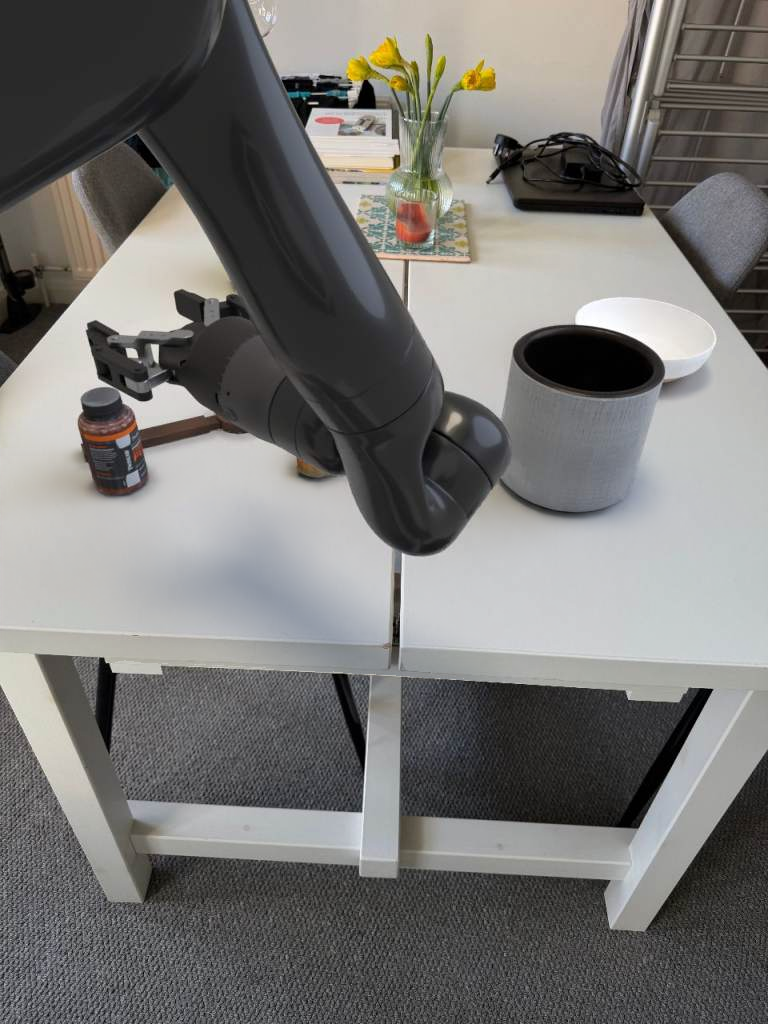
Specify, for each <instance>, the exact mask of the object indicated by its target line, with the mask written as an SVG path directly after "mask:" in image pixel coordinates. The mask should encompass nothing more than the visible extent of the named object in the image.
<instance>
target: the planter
mask: <svg viewBox="0 0 768 1024" xmlns="http://www.w3.org/2000/svg"><path fill="white" fill-rule="evenodd" d="M664 377H665V366H664V363H663V361H662V360H661V358H660V357H659V356H658V354H657V353H656V352H655V351H654V350H652V349H651V348H650V347H648V346H647V345H646V344H644V343H642V342H641V341H639V340H637V339H635V338H633V337H630V336H628V335H626V334H623V333H620V332H617V331H613V330H610V329H606V328H601V327H595V326H587V325H574V324H556V325H555V324H554V325H548V326H544V327H540V328H537V329H533V330H531V331H529V332H527V333H525V334H523V335H522V336H521V337H520V338H518V340H517V341H516V342H515V343H514V345H513V348H512V352H511V358H510V365H509V371H508V377H507V382H506V383H507V384H506V390H505V395H504V401H503V408H502V413H501V418H500V420H501V421H502V423H503V425H504V426H505V428H506V429H507V431H508V433H509V436H510V438H511V442H512V458H511V461H510V463H509V465H508V467H507V469H506V471H505V473H504V474H503V475H502V477H501V478H500V480H502V482H503V483H504V484H505V485H506V486H507V487H508V488H509V489H510V490H511V491H512V492H514V493H515V494H516V495H518V496H519V497H521V498H523V499H525V500H527V501H528V502H529V503H532V504H535V505H537V506H540V507H543V508H546V509H550V510H554V511H560V512H569V513H586V512H593V511H594V512H595V511H598V510H602V509H605V508H608V507H611V506H613V505H615V504H617V503H619V502H620V501H621V500H623V499H624V498H625V497H626V496H627V494H628V493H629V492H630V490H631V488H632V485H634V481H635V478H636V475H637V471H638V468H639V464H640V462H641V457H642V454H643V452H644V451H643V450H644V447H645V443H646V440H647V437H648V434H649V431H650V430H649V429H650V427H651V423H652V419H653V416H654V413H655V409H656V407H657V403H658V400H659V396H660V393H661V391H662V387H663V383H664V382H663V380H664Z"/></svg>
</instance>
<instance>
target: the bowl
mask: <svg viewBox="0 0 768 1024" xmlns="http://www.w3.org/2000/svg"><path fill="white" fill-rule="evenodd" d="M573 325H587V326H595V327H601V328H606V329H610V330H613V331H617V332H620V333H623V334H626V335H628V336H630V337H633V338H635V339H637V340H639V341H641V342H642V343H644V344H646V345H647V346H648V347H650V348H651V349H652V350H654V351H655V352H656V353H657V354H658V356H659V357H660V358H661V360H662V361H663V363H664V366H665V377H664V380H663V383H670V382H673V381H676V380H679V379H682V378H683V377H687V376H689V375H691V374H693V373H695V372H697V371H698V370H699V369H700V368H701V367H702V366H703V365H704V364H705V362H707V360H709V358H710V356H711V354H712V353H713V350H714V348H715V346H716V344H717V335H716V334H717V333H716V332H715V329H714V328H713V327H712V325H711V324H710V323H709V322H707V321H706V320H705V319H704V318H702V317H701V316H699V315H698V314H696V313H694V312H692V311H690V310H688V309H685V308H683V307H680V306H678V305H675V304H673V303H668V302H664V301H662V300H661V301H660V300H655V299H651V298H645V297H644V298H643V297H632V296H631V297H629V296H627V297H626V296H618V297H617V296H616V297H606V298H602V299H597V300H594V301H591V302H588V303H586V304H584V305H583V306H581V307H580V308H579V309H578V310H577V311H576V313H575V315H574V318H573Z"/></svg>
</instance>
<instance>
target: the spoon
mask: <svg viewBox="0 0 768 1024" xmlns="http://www.w3.org/2000/svg"><path fill="white" fill-rule="evenodd" d="M214 413H215V412H214ZM220 429H221V430H223V431H225V432H229V433H232V434H247V433H248V432H247V431H245V430H243V429H242V428H240V427H238V426H237V425H235V424H233V423H231V422H230V421H228V420H226V419H225V418H223V417H221V416H220V415H218V414H216V413H215V414H213V415H209V416H205V415H204V414H201V415H198V416H192V417H189V418H184V419H180V420H176V421H171V422H167V423H162V424H159V425H154V426H150V427H146V428H142V429H138V430H139V435H140V439H141V444H142V448H143V449H146V448H151V447H155V446H159V445H164V444H167V443H171V442H175V441H179V440H184V439H187V438H193V437H195V436H200V435H204V434H205V435H206V434H208V433H211V431H215V430H220ZM80 448H81V450H82V453H83V457H84V460H85V462H86V463H88V460H87V456H86V453H85V449H84V446H83V443H82V442H81V443H80Z"/></svg>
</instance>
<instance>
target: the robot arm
mask: <svg viewBox="0 0 768 1024" xmlns="http://www.w3.org/2000/svg"><path fill="white" fill-rule="evenodd" d="M253 13H254V12H253V11H252V7H251V5H250V2H249V0H0V216H1V215H2V214H3V215H4V213H6V212H7V211H9V210H11V209H12V208H14V207H16V206H18V205H19V204H21V203H23V202H24V201H26V200H27V199H29V198H31V197H32V196H34V195H36V194H37V193H39V192H41V191H42V190H44V189H45V188H47V187H49V186H51V185H53V184H54V183H56V182H58V181H59V180H61V179H63V178H64V177H66V176H68V175H69V174H71V173H72V172H75V171H76V170H78V169H79V168H81V167H83V166H85V165H87V164H89V163H90V162H92V161H93V160H95V159H96V158H99V157H100V156H102V155H104V154H105V153H107V152H109V151H110V150H112V149H113V148H115V147H117V146H118V145H120V144H123V142H125V141H126V140H128V139H130V138H132V137H133V136H135V135H136V134H137V136H138V137H139V139H141V141H142V143H144V145H145V146H146V147H147V149H148V150H149V151H150V153H151V154H152V155H153V156H154V158H155V159H156V161H157V162H158V164H159V165H160V166H161V167H162V169H163V170H164V171H165V173H166V175H167V176H168V178H169V179H170V180H171V181H172V184H173V185H174V186H175V187H176V189H177V191H178V192H179V194H180V195H181V197H182V198H183V200H184V202H185V203H186V205H187V206H188V208H189V209H190V211H191V212H192V214H193V215H194V217H195V219H196V220H197V223H198V224H199V226H200V228H201V229H202V231H203V232H204V234H205V236H206V238H207V239H208V242H209V243H210V246H211V247H212V249H213V250H214V252H215V254H216V256H217V258H218V259H219V261H220V263H221V265H222V267H223V269H224V271H225V273H226V275H227V276H228V278H229V280H230V282H231V285H232V286H233V288H234V290H235V292H236V293H230V294H227V295H226V296H225V300H223V301H220V299H218V298H216V297H209V298H206V297H203V296H201V295H199V294H197V293H195V292H190V291H188V290H185V289H183V288H180V289H178V290H175V291H174V292H173V298H174V303H175V304H174V305H175V310H176V312H177V313H178V315H180V316H181V317H183V318H185V319H188V320H190V321H192V322H189V323H187V324H185V325H184V326H182V327H181V328H177V329H172V330H170V331H158V330H141V331H140V332H139V333H138V334H137V335H126V334H120V332H119V331H116V330H114V329H113V328H111V327H109V326H108V325H106V324H104V323H103V322H100V321H99V320H97V319H95V320H92V321H89V322H86V328H87V329H85V332H86V338H87V341H88V345H89V348H90V353H91V356H92V358H93V362H94V366H95V369H96V376H97V379H98V380H99V381H101V382H103V383H104V384H106V385H109V387H111V388H114V389H117V390H118V391H119V392H120V393H123V394H125V395H127V396H129V397H131V398H132V399H134V400H136V401H137V402H141V403H143V402H144V403H145V402H150V401H151V400H152V399H153V398H154V394H153V389H154V388H156V387H158V386H160V385H162V384H165V383H167V384H169V385H173V386H180V387H183V388H185V390H186V391H187V392H188V393H189V394H190V395H191V396H192V398H193V399H194V400H195V401H196V402H197V403H198V404H200V405H201V406H203V407H204V408H205V409H207V410H209V411H211V412H212V413H216V414H218V415H220V416H221V417H223V418H225V419H226V420H228V421H230V422H231V423H233V424H235V425H237V426H238V427H240V428H242V429H243V430H245V431H247V433H248V434H250V435H252V436H254V437H255V438H257V439H259V440H261V441H264V442H266V443H268V444H271V445H274V446H276V447H278V448H280V449H282V450H284V451H286V452H287V453H289V454H291V456H294V457H296V459H297V458H299V459H301V460H303V461H304V462H306V463H308V464H310V465H311V466H313V467H315V468H316V469H318V470H320V471H322V472H324V473H326V474H329V476H333V477H346V479H347V482H348V486H349V489H350V492H351V494H352V498H353V499H354V502H355V504H356V507H357V509H358V511H359V513H360V514H361V516H362V517H363V519H364V521H365V523H366V524H367V526H368V527H369V528H370V530H371V531H372V532H373V533H374V534H375V535H376V536H377V538H379V539H380V541H382V542H383V543H384V544H385V545H387V546H388V547H390V548H391V549H393V550H394V551H397V552H399V553H401V554H404V555H406V556H410V557H421V558H422V557H423V558H425V557H431V556H435V555H438V554H440V553H443V552H444V551H446V550H447V549H448V548H449V547H450V546H451V545H453V543H455V542H456V540H457V539H458V537H459V536H460V535H461V534H462V532H463V531H464V529H466V526H467V525H468V523H469V522H470V521H471V519H472V518H473V517H474V515H475V514H476V513H477V511H478V510H479V509H480V507H481V506H482V504H483V503H484V502H485V500H486V499H487V498H488V497H489V495H490V494H491V491H492V490H493V489H494V488H495V487H496V485H497V484H498V483H499V481H500V480H501V477H502V475H503V474H504V473H505V471H506V469H507V467H508V465H509V463H510V461H511V458H512V442H511V438H510V436H509V433H508V431H507V429H506V428H505V426H504V425H503V423H502V421H501V418H499V417H498V416H497V414H495V413H494V412H493V411H492V410H491V409H490V408H489V407H487V406H485V405H483V404H482V403H481V402H479V401H477V400H475V399H473V398H470V397H468V396H466V395H463V394H461V393H457V392H453V391H449V390H445V381H444V378H443V374H442V372H441V369H440V366H439V365H438V363H437V360H436V359H435V357H434V355H433V353H432V352H431V350H430V348H429V346H428V344H427V343H426V340H425V339H424V337H423V335H422V333H421V331H420V329H419V328H418V326H417V324H416V322H415V320H414V318H413V317H412V315H411V313H410V311H409V309H408V307H407V306H406V304H405V302H404V301H403V298H402V297H401V295H400V292H398V289H397V288H396V287H395V285H394V283H393V282H392V279H391V278H390V276H389V275H388V273H387V271H386V268H384V265H383V264H382V262H381V261H380V259H379V257H378V255H377V254H376V252H375V251H374V249H373V247H372V245H371V244H370V242H369V240H368V238H367V237H366V235H365V234H364V232H363V230H362V228H361V227H360V225H359V224H358V222H357V220H356V218H355V217H354V215H353V213H352V211H351V210H350V208H349V207H348V204H347V203H346V202H345V199H344V198H343V196H342V194H341V193H340V191H339V189H338V188H337V186H336V183H335V182H334V180H333V178H332V177H331V175H330V173H329V172H328V170H327V168H326V166H325V164H324V163H323V161H322V158H321V156H320V155H319V153H318V151H317V149H316V148H315V146H314V144H313V142H312V140H311V138H310V136H309V134H308V131H307V130H306V128H305V125H304V124H303V122H302V119H301V118H300V116H299V114H298V112H297V110H296V108H295V106H294V103H293V102H292V99H291V98H290V96H289V93H288V91H287V90H286V87H285V85H284V83H283V81H282V79H281V76H280V74H279V72H278V70H277V68H276V66H275V63H274V61H273V59H272V57H271V54H270V52H269V50H268V47H267V45H266V42H265V40H264V38H263V36H262V34H261V31H260V29H259V26H258V24H257V21H256V19H255V16H254V14H253ZM152 345H158V362H156V361H155V358H154V354H153V350H152V349H153V348H152ZM127 349H133V350H135V351H136V355H137V357H129V356H128V352H127ZM216 414H215V415H216Z"/></svg>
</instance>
